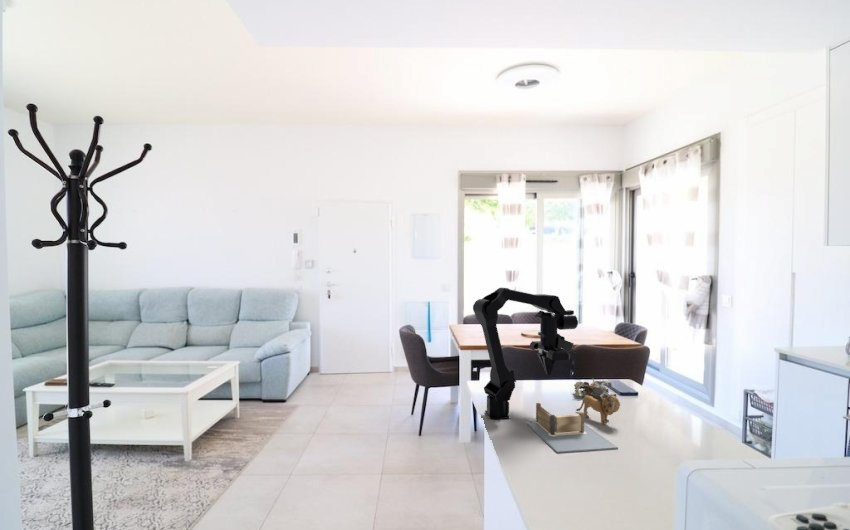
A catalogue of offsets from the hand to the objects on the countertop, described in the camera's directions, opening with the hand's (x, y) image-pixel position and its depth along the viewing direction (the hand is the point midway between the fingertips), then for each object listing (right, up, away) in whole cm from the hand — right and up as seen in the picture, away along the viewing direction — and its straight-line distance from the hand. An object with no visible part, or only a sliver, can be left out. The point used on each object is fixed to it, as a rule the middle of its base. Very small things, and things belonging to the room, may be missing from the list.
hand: (548, 374), depth 133 cm
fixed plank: (-7, -12, -17) cm, 22 cm away
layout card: (-1, -12, -21) cm, 24 cm away
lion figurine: (+14, -12, -9) cm, 20 cm away
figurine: (+21, -13, +13) cm, 28 cm away
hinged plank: (0, -11, -20) cm, 23 cm away
